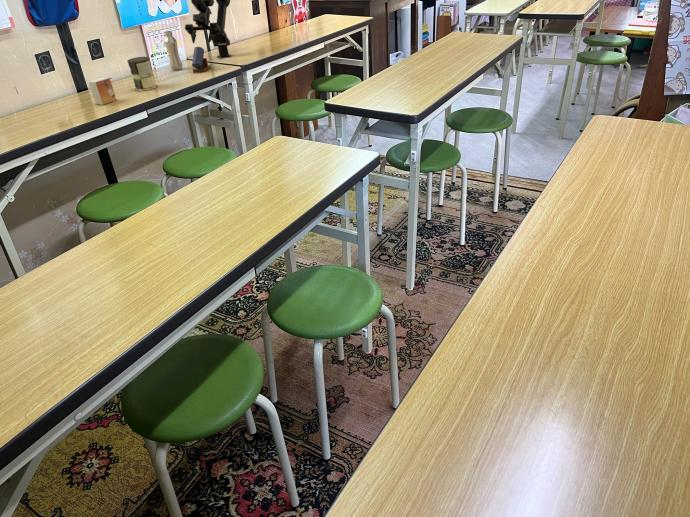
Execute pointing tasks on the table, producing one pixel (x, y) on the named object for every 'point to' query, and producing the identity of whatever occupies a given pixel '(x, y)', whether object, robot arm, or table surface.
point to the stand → (203, 66)
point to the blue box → (198, 57)
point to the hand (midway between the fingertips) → (201, 42)
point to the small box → (102, 90)
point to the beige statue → (172, 51)
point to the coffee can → (142, 73)
